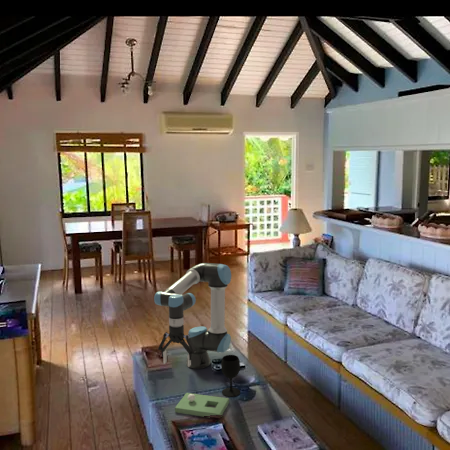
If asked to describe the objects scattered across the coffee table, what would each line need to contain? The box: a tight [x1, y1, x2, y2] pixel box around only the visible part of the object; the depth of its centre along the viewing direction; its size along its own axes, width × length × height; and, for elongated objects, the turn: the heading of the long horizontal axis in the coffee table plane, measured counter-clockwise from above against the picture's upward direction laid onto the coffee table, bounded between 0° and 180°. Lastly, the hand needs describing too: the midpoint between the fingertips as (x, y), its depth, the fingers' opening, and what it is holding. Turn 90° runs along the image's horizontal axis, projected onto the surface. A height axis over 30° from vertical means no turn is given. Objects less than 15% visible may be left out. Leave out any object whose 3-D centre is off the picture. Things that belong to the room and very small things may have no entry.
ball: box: [188, 393, 195, 402], centre depth 247 cm, size 4×4×4 cm
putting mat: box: [174, 392, 230, 417], centre depth 246 cm, size 16×24×2 cm, turn 73°
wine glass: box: [220, 354, 241, 398], centre depth 260 cm, size 10×10×20 cm
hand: (177, 364), depth 248 cm, fingers open, 13 cm apart
